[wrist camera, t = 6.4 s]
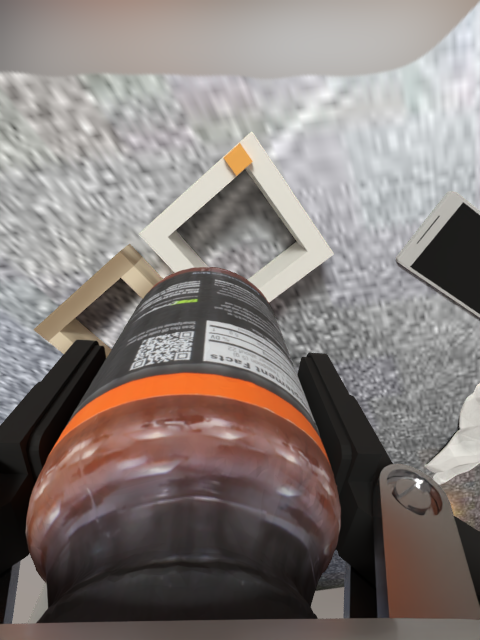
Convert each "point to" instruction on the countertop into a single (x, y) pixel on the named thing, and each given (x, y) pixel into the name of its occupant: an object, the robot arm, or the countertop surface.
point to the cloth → (460, 444)
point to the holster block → (62, 321)
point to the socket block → (276, 191)
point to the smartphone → (448, 251)
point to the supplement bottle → (188, 470)
